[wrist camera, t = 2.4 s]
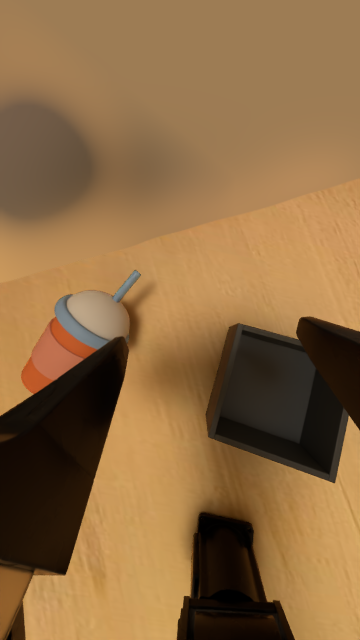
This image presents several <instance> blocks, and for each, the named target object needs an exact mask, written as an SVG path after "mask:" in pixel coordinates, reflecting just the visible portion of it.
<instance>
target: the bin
mask: <svg viewBox="0 0 360 640" xmlns="http://www.w3.org/2000/svg"><path fill="white" fill-rule="evenodd" d="M348 417H349V414H348V413H347V411H346V410H345V409H344V407H343V406H342V404H341V403H340V402H339V400H338V399H337V397H336V396H335V394H334V393H333V392H332V390H331V389H330V387H329V386H328V385H327V383H326V382H325V380H324V379H323V377H322V376H321V375H320V373H319V372H318V370H317V369H316V368H315V366H314V365H313V363H312V362H311V360H310V358H309V357H308V355H307V353H306V351H305V349H304V348H303V346H302V344H301V342H300V340H298V339H294V338H291V337H287V336H283V335H280V334H276V333H272V332H269V331H265V330H261V329H258V328H254V327H251V326H247V325H243V324H240V323H238V324H236V325H233V326H231V327H229V330H228V334H227V337H226V341H225V345H224V348H223V352H222V356H221V360H220V363H219V367H218V371H217V374H216V378H215V382H214V385H213V389H212V393H211V396H210V400H209V404H208V408H207V411H206V422H207V431H208V437H209V438H212V439H215V440H217V441H220V442H223V443H226V444H228V445H231V446H234V447H237V448H239V449H242V450H245V451H248V452H250V453H253V454H256V455H259V456H261V457H264V458H267V459H270V460H272V461H275V462H278V463H281V464H283V465H286V466H289V467H292V468H294V469H297V470H300V471H303V472H305V473H308V474H311V475H314V476H316V477H319V478H322V479H325V480H327V481H330V482H333V483H335V480H336V476H337V471H338V466H339V461H340V456H341V451H342V446H343V441H344V436H345V432H346V427H347V422H348Z"/></svg>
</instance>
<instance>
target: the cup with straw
mask: <svg viewBox="0 0 360 640" xmlns="http://www.w3.org/2000/svg"><path fill="white" fill-rule="evenodd" d="M140 276H141V274H140V273H139V272H137V271H136V270H135V271H134V272H133V273H132V274H131V275H130V277H129V278H128V279H127V280H126V281H125V283H124V284H123V285H122V286H121V287H120V289H119V290H118V291H117V292H116V293H115V295H114V296H112V295H110V294H108V293H105V292H102V291H96V290H87V291H82V292H79V293H77V294H75V295H66V296H64V297H62V298H61V299H59V300H58V302H57V303H56V305H55V315H56V317H55V318H53V319H52V320H51V321H50V323H49V324H48V326H47V327H46V329H45V331H44V332H43V334H42V336H41V337H40V339H39V341H38V342H37V344H36V345H35V347H34V349H33V351H32V354H31V357H30V359H29V360H28V362H27V364H26V365H25V367H24V369H23V371H22V374H21V379H22V382H23V384H24V386H25V387H26V388H27V389H28V390H29V391H30V392H32V393H33V394H35V393H37V392H38V391H40V390H41V389H43V388H44V387H45V386H47V385H48V384H50V383H51V382H53V381H54V380H55V379H57V378H58V377H60V376H61V375H63V374H64V373H65V372H67V371H68V370H70V369H71V368H72V367H74V366H75V365H77V364H78V363H80V362H81V361H82V360H84V359H85V358H87V357H88V356H89V355H91V354H92V353H94V352H95V351H97V350H98V349H99V348H101V347H102V346H104V345H105V344H106V343H108V342H109V341H111V340H112V339H114V338H115V337H120V336H123V337H124V338H125V340H126V343H128V341H129V333H128V332H129V328H130V319H129V315H128V312H127V310H126V309H125V307H124V306H123V304H122V303H121V302H120V300H121V299H122V297H123V296H124V295H125V294H126V293H127V291H128V290H129V289H130V288H131V287H132V285H133V284H134V283H135V282H136V281H137V279H138V278H139V277H140Z"/></svg>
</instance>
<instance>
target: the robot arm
mask: <svg viewBox="0 0 360 640" xmlns="http://www.w3.org/2000/svg"><path fill="white" fill-rule="evenodd" d="M296 334H297V337H298V338H299V340H300V342H301V344H302V346H303V348H304V349H305V351H306V353H307V355H308V357H309V358H310V360H311V362H312V363H313V365H314V366H315V368H316V369H317V370H318V372H319V373H320V375H321V376H322V377H323V379H324V380H325V382H326V383H327V385H328V386H329V387H330V389H331V390H332V392H333V393H334V394H335V396H336V397H337V399H338V400H339V402H340V403H341V404H342V406H343V407H344V409H345V410H346V411H347V413H348V414H349V416H350V417H351V419H352V420H353V421H354V423H355V424H356V426H357V427H358V428H359V430H360V332H359V331H356V330H353V329H349V328H346V327H343V326H340V325H336V324H333V323H330V322H327V321H323V320H320V319H317V318H314V317H301V318H300V319H299V322H298V327H297V331H296ZM128 354H129V349H128V346H127V343H126V340H125V338H124V337H123V336H120V337H115V338H114V339H112V340H111V341H109V342H108V343H106V344H105V345H104V346H102V347H101V348H99V349H98V350H97V351H95V352H94V353H92V354H91V355H89V356H88V357H87V358H85V359H84V360H82V361H81V362H80V363H78V364H77V365H75V366H74V367H72V368H71V369H70V370H68V371H67V372H65V373H64V374H63V375H61V376H60V377H58V378H57V379H55V380H54V381H53V382H51V383H50V384H48V385H47V386H45V387H44V388H43V389H41V390H40V391H38V392H37V393H35V394H34V395H32V396H31V397H29V398H28V399H26V400H24V401H23V402H21V403H20V404H18V405H17V406H15V407H14V408H12V409H10V410H9V411H7V412H6V413H4V414H3V415H1V416H0V640H25V626H24V611H23V601H22V600H23V598H24V596H25V593H26V591H27V588H28V586H29V584H30V581H31V579H32V576H33V575H66V572H67V569H68V566H69V563H70V560H71V556H72V553H73V550H74V546H75V543H76V539H77V536H78V533H79V529H80V526H81V523H82V519H83V516H84V512H85V509H86V506H87V502H88V499H89V496H90V492H91V489H92V485H93V482H94V478H95V475H96V471H97V468H98V465H99V461H100V458H101V455H102V451H103V448H104V444H105V441H106V438H107V434H108V431H109V428H110V424H111V421H112V417H113V414H114V411H115V407H116V404H117V401H118V397H119V394H120V390H121V387H122V384H123V380H124V376H125V371H126V365H127V359H128ZM201 518H204V519H201ZM248 528H250V529H248ZM253 534H254V530H253V527H252V524H251V523H249V522H244V521H239V520H235V519H230V518H226V517H221V516H217V515H212V514H208V513H200V514H199V519H198V530H197V533H195V534H194V535H193V546H192V557H191V594H190V596H184V602H183V608H181V615H180V619H179V620H178V631H177V640H295V639H294V636H293V634H292V631H291V629H290V626H289V624H288V621H287V619H286V616H285V613H284V611H283V608H282V606H281V603H280V601H276V600H273V602H267V599H266V595H265V591H264V588H263V584H262V580H261V576H260V573H259V569H258V565H257V561H256V558H255V554H254V550H253Z"/></svg>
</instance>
